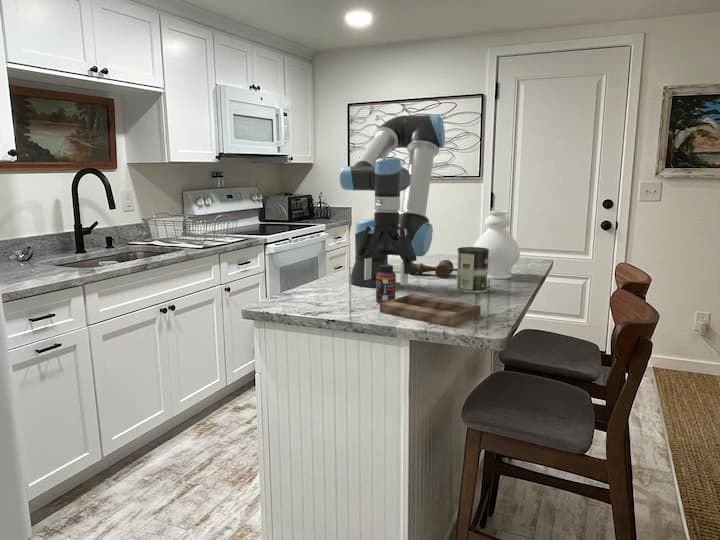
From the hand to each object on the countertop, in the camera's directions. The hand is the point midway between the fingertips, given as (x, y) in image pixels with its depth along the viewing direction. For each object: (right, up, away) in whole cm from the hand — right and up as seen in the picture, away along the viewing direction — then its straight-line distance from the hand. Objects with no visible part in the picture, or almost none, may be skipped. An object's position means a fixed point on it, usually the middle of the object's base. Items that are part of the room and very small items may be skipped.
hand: (385, 281), depth 160 cm
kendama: (+21, +1, +45) cm, 50 cm away
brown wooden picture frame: (+12, -9, -12) cm, 19 cm away
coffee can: (+30, -3, +19) cm, 36 cm away
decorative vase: (+44, +1, +45) cm, 63 cm away
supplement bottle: (0, -6, +2) cm, 7 cm away
